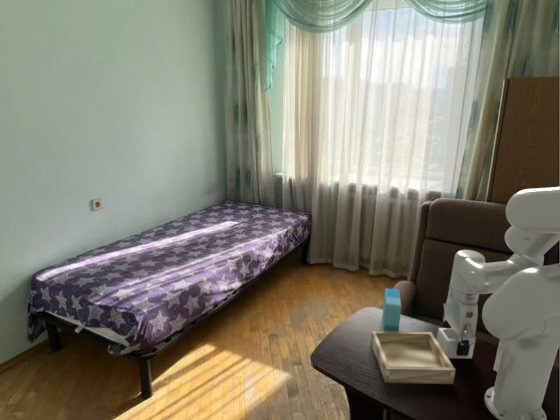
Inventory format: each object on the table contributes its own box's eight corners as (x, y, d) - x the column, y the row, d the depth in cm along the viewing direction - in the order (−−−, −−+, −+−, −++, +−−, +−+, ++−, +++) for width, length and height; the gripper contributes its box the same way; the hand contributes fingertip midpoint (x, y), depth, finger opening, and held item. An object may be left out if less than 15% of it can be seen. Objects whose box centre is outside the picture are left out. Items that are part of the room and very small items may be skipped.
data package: (397, 340, 110) (401, 307, 107) (382, 338, 111) (385, 305, 108) (395, 319, 121) (399, 288, 118) (382, 317, 123) (385, 286, 119)
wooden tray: (452, 384, 93) (455, 370, 92) (384, 382, 93) (386, 368, 92) (429, 344, 109) (431, 332, 107) (370, 343, 109) (371, 331, 108)
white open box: (471, 358, 103) (475, 341, 101) (444, 358, 103) (447, 340, 101) (461, 345, 109) (464, 328, 107) (435, 344, 109) (438, 327, 107)
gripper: (494, 310, 92) (482, 364, 97) (462, 278, 108) (453, 326, 113) (465, 310, 92) (454, 364, 97) (437, 278, 108) (430, 325, 113)
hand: (454, 343), depth 105 cm, fingers open, 9 cm apart
